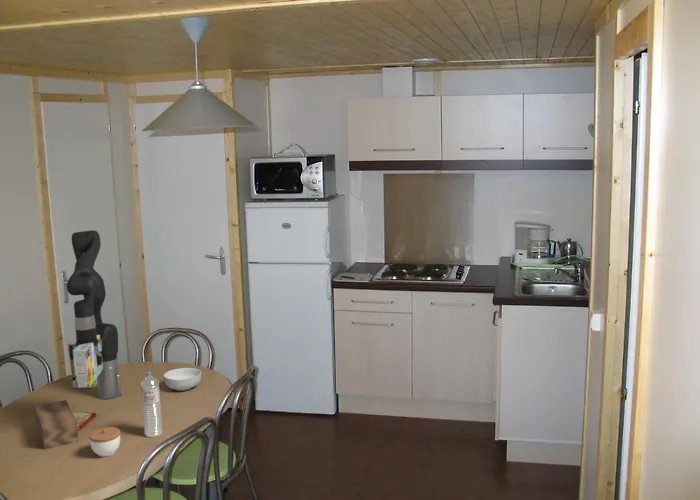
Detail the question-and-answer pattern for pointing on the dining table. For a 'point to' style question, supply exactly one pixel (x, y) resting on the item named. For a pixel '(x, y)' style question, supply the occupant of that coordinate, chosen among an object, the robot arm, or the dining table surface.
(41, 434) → the walnut stand
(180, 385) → the cereal bowl
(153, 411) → the water bottle
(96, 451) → the lidded jar
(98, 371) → the snack box
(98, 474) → the dining table surface
